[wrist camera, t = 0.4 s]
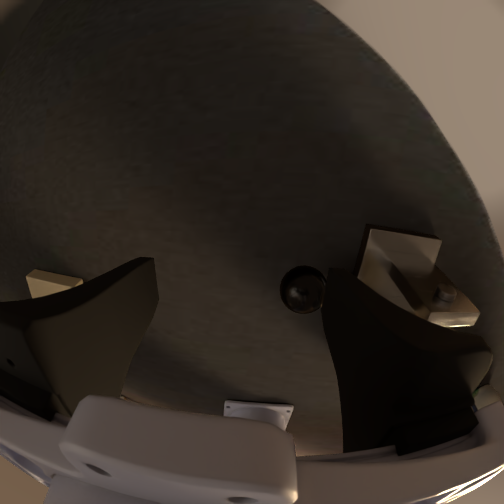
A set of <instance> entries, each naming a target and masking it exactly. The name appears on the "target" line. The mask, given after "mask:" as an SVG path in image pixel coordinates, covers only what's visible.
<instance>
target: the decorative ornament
mask: <svg viewBox="0 0 504 504" xmlns="http://www.w3.org/2000/svg"><path fill="white" fill-rule="evenodd" d="M472 396H473V398H474V400H475V404H474V405H473V406H472V408H473V411H474V413H475V412H477V411H478V410H479V409H481V408H483V407H485V406H488V405H490V404H492V403H495V402H497V401H501V399H500V396H499V394H498V393H497V391H496V390H495V389H494V388H493V387H491V386H490V385H484V386H482V387H480V388H478V389H476V390H475V391H474V392H473V393H472Z"/></svg>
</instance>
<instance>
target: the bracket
mask: <svg viewBox="0 0 504 504" xmlns="http://www.w3.org/2000/svg"><path fill="white" fill-rule="evenodd" d="M441 243H442V240H441V239H439V238H438V237H437V236H436V235H431V234H426V233H420V232H415V231H409V230H403V229H397V228H391V227H385V226H379V225H373V224H366V225H365V229H364V233H363V237H362V241H361V245H360V249H359V253H358V257H357V261H356V264H355V268H354V271H353V275H354V276H355V277H357V278H358V279H359V280H361V281H362V282H363V283H365V284H366V285H368V286H369V287H370V288H372V289H373V290H374V291H376V292H377V293H379V294H380V295H381V296H383V297H385V298H386V299H388V300H389V301H391V302H392V303H394V304H395V305H397V306H399V307H401V308H403V309H404V310H407V311H410V312H412V310H413V311H414V312H415V314H416V315H417V316H418V317H420V318H423V319H425V320H427V321H430V322H432V323H434V324H437V325H440V326H443V327H451V326H473V325H474V324H475V322H476V320H477V318H478V316H479V314H480V311H479V310H478V309H477V308H476V307H475V306H474V305H473V304H472V303H471V301H470V300H469V299H468V298H467V297H466V296H465V295H464V294H463V293H462V292H461V291H460V290H459V289H458V287H457V286H456V285H455V284H454V283H453V282H452V281H451V280H450V279H449V278H448V277H447V276H446V275H445V274H444V273H443V272H442V271H441V270H440V269H439V268H438V267H437V266H436V265H435V261H436V258H437V255H438V252H439V249H440V246H441Z"/></svg>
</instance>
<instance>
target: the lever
mask: <svg viewBox="0 0 504 504" xmlns="http://www.w3.org/2000/svg"><path fill="white" fill-rule="evenodd" d="M326 282H327V281H326V279H325V277H324V275H323V274H322V273H321V272H320V271H319V270H317V269H316V268H314V267H311V266H306V265H303V266H297V267H295V268H292V269H291V270H289V271H288V272H287V273H286V274H285V276H284V277H283V279H282V281H281V284H280V296H281V299H282V301H283V303H284V304H285V306H286V307H287V308H288V309H290V310H291V311H293V312H296V313H300V314H308V313H312V312H314V311H316V310H317V309H319V308H320V307H322V302H323V297H324V293H325V288H326ZM406 311H407V310H406ZM408 312H410V311H408ZM410 313H412V314H414V315H416V314H415V312H414V311H413V310H412V312H410ZM416 316H417V315H416ZM446 328H449V329H452V330H455V326H451V327H446Z"/></svg>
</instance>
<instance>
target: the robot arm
mask: <svg viewBox="0 0 504 504" xmlns="http://www.w3.org/2000/svg"><path fill="white" fill-rule="evenodd" d="M158 301H159V295H158V288H157V281H156V273H155V264H154V258H149V257H139V258H136V259H133V260H131V261H129V262H127V263H125V264H123V265H121V266H119V267H117V268H115V269H113V270H111V271H109V272H107V273H105V274H103V275H100V276H98V277H96V278H94V279H92V280H90V281H88V282H85V283H83V284H80V285H78V286H75V287H72V288H70V289H67V290H64V291H60V292H57V293H53V294H50V295H46V296H42V297H37V298H32V299H26V300H19V301H8V302H0V455H1V456H3V457H4V458H5V459H7V460H8V461H9V462H11V463H12V464H13V465H15V466H16V467H18V468H19V469H21V470H22V471H23V472H25V473H26V474H28V475H30V476H31V477H33V478H34V479H36V480H37V481H39V482H41V483H42V484H44V485H46V486H47V487H49V490H48V492H47V495H46V498H45V500H44V503H43V504H446V503H448V502H450V501H452V500H454V499H456V498H458V497H460V496H462V495H464V494H466V493H468V492H470V491H472V490H474V489H475V488H477V487H479V486H481V485H482V484H484V483H485V482H487V481H488V480H489V479H491V478H492V477H494V476H495V475H496V474H498V473H499V472H500V471H501V470H503V469H504V406H503V404H502V402H501V401H497V402H495V403H492V404H490V405H488V406H485V407H483V408H481V409H479V410H478V411H477V412H475V413H474V412H473V410H472V408H471V406H473V405H474V404H475V400H474V398H473V396H472V393H473V392H474V391H475V389H476V388H477V387H478V385H479V384H480V382H481V381H482V380H483V378H484V377H485V375H486V373H487V372H488V370H489V368H490V366H491V363H492V359H493V353H492V350H491V348H490V347H489V346H488V344H487V343H486V342H485V340H484V339H483V338H482V337H481V336H477V335H472V334H468V333H463V332H459V331H455V330H452V329H449V328H446V327H443V326H440V325H437V324H434V323H432V322H430V321H427V320H425V319H423V318H420V317H418V316H416V315H414V314H412V313H410V312H408V311H406V310H404V309H403V308H401V307H399V306H397V305H395V304H394V303H392V302H391V301H389V300H388V299H386V298H385V297H383V296H381V295H380V294H379V293H377V292H376V291H374V290H373V289H372V288H370V287H369V286H368V285H366V284H365V283H363V282H362V281H361V280H359V279H358V278H357V277H355V276H354V275H353V274H351V273H350V272H348V271H347V270H345V269H340V268H329V272H328V277H327V282H326V288H325V293H324V297H323V302H322V307H321V313H322V321H323V327H324V332H325V335H326V339H327V342H328V346H329V349H330V353H331V356H332V360H333V363H334V367H335V370H336V375H337V379H338V386H339V394H340V402H341V413H342V427H343V453H340V454H330V455H318V456H299V457H296V452H295V444H294V440H293V437H292V435H291V434H290V433H288V432H286V431H285V428H286V426H287V424H288V421H289V419H290V416H291V414H292V411H293V405H288V404H267V403H253V402H241V401H231V400H227V401H225V404H224V416H219V415H209V414H201V413H193V412H186V411H179V410H173V409H167V408H162V407H157V406H151V405H147V404H142V403H137V402H133V401H129V400H124V399H120V395H121V392H122V388H123V384H124V381H125V378H126V375H127V372H128V369H129V366H130V363H131V361H132V358H133V356H134V354H135V352H136V350H137V348H138V346H139V344H140V342H141V340H142V338H143V336H144V334H145V332H146V330H147V328H148V326H149V324H150V322H151V320H152V318H153V316H154V313H155V310H156V307H157V304H158Z"/></svg>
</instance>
